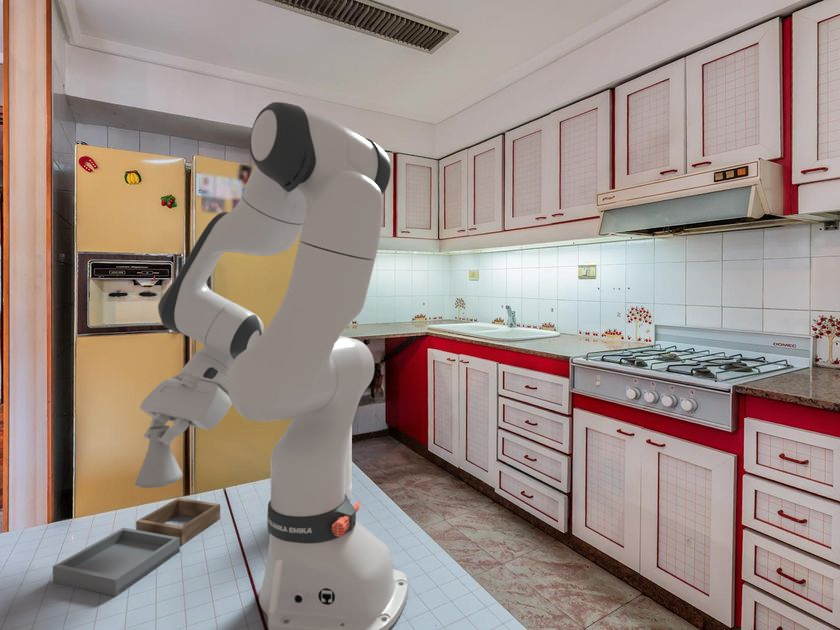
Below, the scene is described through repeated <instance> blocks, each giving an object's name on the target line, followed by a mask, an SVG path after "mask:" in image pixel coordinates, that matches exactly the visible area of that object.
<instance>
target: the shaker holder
mask: <svg viewBox="0 0 840 630" xmlns="http://www.w3.org/2000/svg"><path fill="white" fill-rule="evenodd" d="M178 515H182V516H186V517H187V516H188V517H193V518H192V519H191V520H189V521H187V522H185V523H184V524H183V525H181V526H180V525H176V524H170V523H166V522H168V521H170V520H172V519H174V518H175V517H176V516H178ZM219 520H221V503H216V502H215V503H214V502H209V501H208V502H207V501H202V500H196V499H195V500H194V499H189V498H183V497H182V498H181V497H177V498H176V499H173V500H172V501H170V502H168V503H166V504H164V505H162V507H159V508H157V509H156V510H154V511H152V512H150V513H148V514H146V515H145V516H143V517H142V518H140V519H138V520H136V521H135V528H136V529H135V530H140V531H145V532H151V533H157V534H162V535H168V536H173V537H179V538H180V546H184V545H185V544H186V543H188V542H189V541H190V540H192V539H193V538H195V537H196V536H198V535H199V534H201V533H202V532H203V531H205V530H207V529H208V528H210V526H212V525H213V524H215V523H217V522H218V521H219Z"/></svg>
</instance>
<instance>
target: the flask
mask: <svg viewBox="0 0 840 630" xmlns="http://www.w3.org/2000/svg"><path fill="white" fill-rule="evenodd" d="M169 428H170V425H168V424H165V425H156V426H152V427H150V426H149V427H148V428H147V430H148V431H149V432H150V440H149V443H148V448H147V451H146V455H145V457H144V460H143V463H142V465H141V468H140V470H139V472H138V475H137V478H136V479H135V483H134V485H135V486H137V487H140V488H143V489H150V488H163V487H165V486H168V485H171V484H174V483H177V482H178V481H179V480H180V479H181V478H183V476H184V474H183V472H182V469H181V468H180V466H179V463H178V462H177V459H176V457H175V455H174V453H173V450H172V448H171V445H170V444H171V443H170V444H169V445H165V444H162V443H161V442H159V441H158V437H159V436H160V435H161V433H162V432H163V431H165V432H166V431H167V430H168V429H169Z"/></svg>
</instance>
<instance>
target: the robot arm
mask: <svg viewBox="0 0 840 630" xmlns="http://www.w3.org/2000/svg"><path fill="white" fill-rule="evenodd" d="M251 128H252V129H251V132H250V136H249V150H250V152H249V153H250V156H251V159H252V160H253V162H254V164H255V165H254V167H253V169H252V171H251V173H250V175H249V177H248V179H247V182H246V184H245V186H244V189H243V191H242V194H241V197H240V198H239V201H238V203H237V205H236V206H235V207H234V208H233V209H231V210H230V211H222V212H220V213H218V214H217V215H215V216H214V217H213V218H212V219H211V220H210V221H209V222H208V224H207V225H206V227H205V228H204V229H203V231H202V232H201V234H200V236H199V237H198V239H197V241H196V242H195V243H194V246H193V247H192V249H191V251H190V252H189V254H188V256H187V258H186V260H185V261H184V263H183V265H182V267H181V269H180V270H179V272H178V274H177V276H176V277H175V279H174V280H173V281H172V283H171V284H170V285H169V287H168V288H167V289H166V291H165V292H164V294H163V295H162V296H161V298H160V300H159V303H158V304H157V305H158V306H157V309H158V314H159V317H160V321H161V323H162V325H163V326H164V327H165V328H167V329H169V330H172V331H174V332H177V333H179V334H181V335H185V336H187V337H189V338H191V339H193V340H194V341H197V342H198V343H200V344H202V345H204V346H203V347H202V348H200V350H198V351H196V352H195V353H194V354H193V355H192V357H191V358H190V359H189V360H188V362H187V363H185V365H184V366H183V368H182V369H181V370H180V371H179V373H178V374H176V375H174V376H173V377H171V378H166V379H164V380H162V381H161V382H160V383H159V384H158V385H157V386H155V387H154V389H152V390H151V391H150V393H149V394H148V395H147V396H146V397H145V398H144V399H143V400H142V401H141V403H140V407H139V409H140V410H141V411H143V412H144V413H145V414H147V415H149V417H152V419H151V421H150V424H149V428H150V427H152V426H156V425H167V423H168V422H173V425H171V426H169V429H168V430H167V431H166V432H165V431H163V432H162V433H161V435H160V436H159V437H158V441H159V442H161V443H162V444H165V445H169V444H172V442H173V440H174V439H175V438H176V437H179V435H181V434H182V433H183V432H185V431H187V429H188V427H189V426H191V427H194V428H197V429H198V428H199V429H203V430H207V431H209V430H212V429H214V428H215V427H216V426H218V425H219V424H220V422H221V421H222V420H223V419H224V417H225V416H226V415H227V413H228V411H229V410H230V409H231V407H232V406H233V408H234V409H235V410H236V412H238V413H239V414H240V416H242V417H243V418H245V419H247V420H248V421H252V422H269V421H270V422H274V421H285V420H288V419H291V420H290V422H289V424H288V426H287V429H286V430H285V431H284V433H283V435H282V436H281V437H280V439H278V441H277V442H276V444H275V445H274V447H273V449H272V452H271V455H270V500H269V501H268V504H267V515H266V517H267V520H266V521H267V523H266V527H267V531H268V532H267V533H268V535H269V539H268V540H269V541H268V550H267V551H268V553H267V559H266V565H265V566H266V567H265V570H264V575H263V576H264V577H263V580H262V584H261V587H260V591H259V594H258V602H259V604H260V608H261V609H262V610H263V612H264V613H265V614H266V616H267V627H268V630H390V629H391V628H392V626H394V624H395V623H396V621H397V620H398V618H399V617H400V615H401V613H402V611H403V609H404V607H405V604H406V602H407V598H408V594H409V585H408V579H407V576H406V574H405V572H403V571H400V570H397V569H394V564H393V558H392V554H391V551H390V549H389V547H388V545H387V544H385V542H383V541H381V540H380V539H379V538H378V537H376V536H375V534H373V533H372V532H371V531H370V530H369V529H368V528H366V527H365V526H363V525H362V524H361V523H360V522H359V521H358V520H356V519H357V515H356V514H357V513H358V511H359V510H360V503H361V501H360V500H358V501H357V502H356V503H355V504H354V505H353V504H352V503H351V502H350V500H348V497H347V495H346V494H345V467H346V449H347V443H348V438H349V433H350V429H351V426H352V427H353V422H354V417H355V415H356V413H357V409H358V406H359V403H360V401H361V398H362V396H363V394H364V393H365V391H366V389H368V387H369V386H370V385H371V382H372V380H373V378H374V375H375V361H374V356H373V354H372V352H371V350H370V349H369V347H368V346H367V345H366V344H365V343H364V342H362V341H361V340H359V339H356V338H352V337H348V336H342V333H343V332H344V331H345V329H346V328H347V327H348V325H349V324H350V323H351V322H352V321H353V320H355V319H356V318H357V317H358V316H359V315H360V313H361V312H362V310H363V308H364V306H365V303H366V298H367V294H368V289H369V287H370V286H369V285H370V282H371V278H372V274H373V270H374V266H375V261H376V258H377V253H378V249H379V243H380V239H381V238H380V237H381V230H382V222H383V211H384V209H383V208H384V197H383V194H384V193H385V192H386V190H387V188H388V185H389V183H390V179H391V172H392V171H391V170H392V169H391V168H392V167H391V161H390V158H389V156H388V154H387V153H386V152H385V150H384V149H383V148H382V147H381V146H379V144H377V143H376V142H374V141H373V140H371V139H369V138H365V137H363V136H362V135H360V134H358V133H357V132H355V131H353V130H351V129H349V128H348V127H346V126H343V125H342V124H341V123H340V122H338V121H336V120H335V119H331V118H329V117H326V116H323V115H320V114H318V113H315V112H312V111H308V110H304V109H303V107H301V106H300V105H296V104H292V103H288V102H283V101H282V102H281V101H273V102H271V103H269V104H268V105H267V106H265V107H264V108H263V109H262V110H261V111H260V112H258V114H257V116H256V118H255V120H254V123H253V125H252V127H251ZM298 239H299V240H298ZM297 240H298V245H297V250H296V255H295V258H294V261H293V262H294V263H293V266H292V271H291V275H290V279H289V283H288V286H287V290H286V292H285V294H284V296H283V299H282V302H281V303H280V306H279V307H278V309H277V311H276V312H275V314H274V316H273V317H272V319H271V320H270V322H269V323H268V325H267V327H266V328H265V325H264V322H263V321H262V319H261V318H260V317H259V316H258V315H257V314H256V313H254V312H253V311H251V310H249V309H247V308H246V307H243V306H241V304H238V303H235V302H233V301H231V300H230V299H228V298H226V297H223V296H222V295H220V294H218V293H216V292H214V291H213V290H211V289H210V287H209V286H208V284H207V281H208V279H209V277H210V276H211V275H212V273H213V271H214V269H215V268H216V266H217V265H218V263H219V261H220V259H221V257H222V256H223V254H225V253H238V254H242V255H243V254H244V255H250V256H257V257H258V256H260V257H261V256H262V257H265V256H274V255H278V254H281V253H282V254H283V253H285V252H286V251H288V250H289V249H291V247H293V245H294V244H295V243H296V242H297ZM143 437H144V438H145V439H146V440H148V441H150V432H149V431H148V429H147V431H146V432H145V433H144V435H143Z"/></svg>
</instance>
